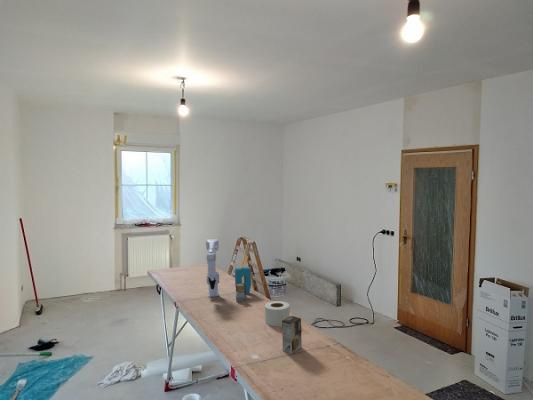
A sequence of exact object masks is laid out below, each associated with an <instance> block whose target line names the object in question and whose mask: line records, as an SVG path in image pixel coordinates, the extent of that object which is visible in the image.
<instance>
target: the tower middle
mask: <svg viewBox="0 0 533 400" xmlns="http://www.w3.org/2000/svg"><path fill="white" fill-rule="evenodd" d="M245 295H246V294H245V293H244V292H241V293H238V292H236V291H235V299H236V298H237V297H246V296H245Z"/></svg>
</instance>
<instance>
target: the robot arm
mask: <svg viewBox="0 0 533 400" xmlns="http://www.w3.org/2000/svg"><path fill="white" fill-rule="evenodd" d="M205 247H206V251H207V254H206V261H207V262H206V264H207V273H206V284H207V285H208V293H207V295H208V298H213V297H215V298H216V297H219V295H220V293H219V283H220V273H219V272H218V271H216V269H217V267H216V266H217V265H216V261H217V251H219V247H220V245H219V239H218V238H216V239H215V238H213V239H212V238H209V239H206V240H205Z"/></svg>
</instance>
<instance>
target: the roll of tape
mask: <svg viewBox="0 0 533 400" xmlns="http://www.w3.org/2000/svg"><path fill="white" fill-rule="evenodd" d="M290 312H291V311H290V303H288V302H286V301H281V300H278V301H275V300H274V301H269V302H267V303H266V304H265V305H264V319H265V320H264V322H265V324H266V325H268V326H271V327H282V321H283V320H285V319H286V318H288V317H290V315H291V314H290Z"/></svg>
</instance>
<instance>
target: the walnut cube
mask: <svg viewBox="0 0 533 400" xmlns="http://www.w3.org/2000/svg"><path fill="white" fill-rule="evenodd" d="M236 292H238V293H241V292H245V285H243V284H236V286H235V293H236Z"/></svg>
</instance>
